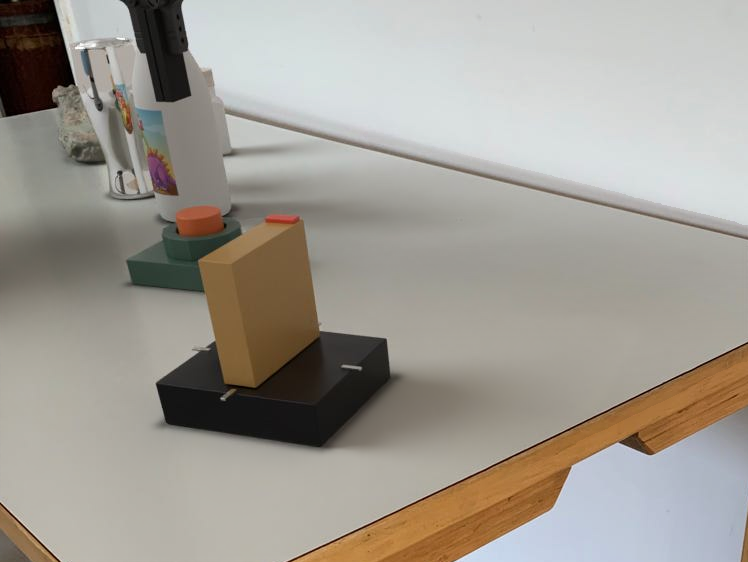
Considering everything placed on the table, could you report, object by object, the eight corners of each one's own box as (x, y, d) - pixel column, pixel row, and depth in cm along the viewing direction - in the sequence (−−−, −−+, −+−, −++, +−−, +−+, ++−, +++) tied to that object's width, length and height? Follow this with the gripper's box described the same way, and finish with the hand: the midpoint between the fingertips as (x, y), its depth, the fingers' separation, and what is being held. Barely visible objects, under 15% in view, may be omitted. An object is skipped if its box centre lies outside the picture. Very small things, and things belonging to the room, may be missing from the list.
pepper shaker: (196, 152, 128) (179, 69, 122) (226, 148, 129) (210, 65, 123) (202, 159, 125) (185, 74, 119) (233, 154, 126) (218, 70, 120)
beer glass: (136, 203, 110) (98, 49, 100) (93, 196, 113) (53, 46, 103) (180, 187, 114) (148, 38, 105) (139, 181, 117) (104, 35, 108)
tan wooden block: (256, 388, 64) (230, 259, 58) (224, 384, 64) (196, 256, 59) (320, 335, 70) (302, 215, 65) (291, 332, 71) (271, 212, 66)
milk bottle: (232, 200, 109) (191, -14, 97) (233, 220, 103) (190, -5, 91) (161, 207, 108) (111, -8, 95) (158, 227, 102) (105, 1, 90)
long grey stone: (56, 180, 124) (138, 175, 127) (45, 134, 121) (129, 130, 123) (60, 110, 149) (128, 107, 152) (51, 71, 146) (121, 68, 148)
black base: (148, 429, 66) (136, 386, 64) (249, 353, 76) (241, 313, 74) (321, 456, 62) (314, 411, 60) (404, 372, 72) (401, 330, 70)
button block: (132, 284, 89) (120, 238, 87) (187, 252, 96) (178, 209, 93) (236, 294, 86) (226, 248, 83) (286, 261, 92) (279, 217, 90)
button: (170, 237, 88) (166, 217, 87) (195, 224, 90) (191, 204, 89) (208, 240, 86) (204, 220, 85) (232, 227, 89) (228, 207, 88)
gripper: (204, -294, 67) (265, 92, 82) (50, -278, 71) (135, 87, 86) (139, -303, 62) (217, 111, 77) (-24, -286, 66) (80, 105, 81)
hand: (173, 98), depth 82 cm, fingers closed
